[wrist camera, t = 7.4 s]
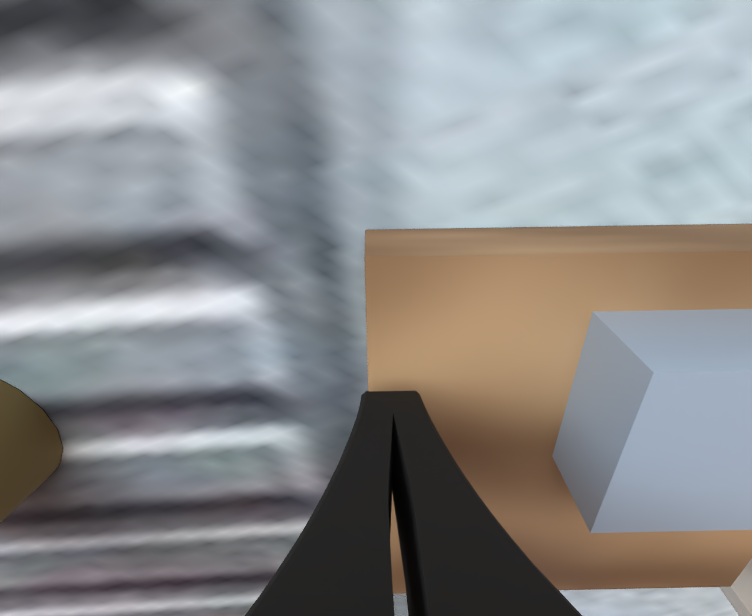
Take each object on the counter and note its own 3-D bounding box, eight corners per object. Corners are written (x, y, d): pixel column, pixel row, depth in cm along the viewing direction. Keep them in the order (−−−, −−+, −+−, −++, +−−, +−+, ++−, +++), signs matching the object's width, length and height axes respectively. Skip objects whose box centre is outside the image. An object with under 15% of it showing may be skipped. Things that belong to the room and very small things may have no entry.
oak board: (694, 536, 18) (730, 586, 16) (373, 543, 17) (373, 593, 16) (883, 222, 11) (982, 247, 9) (365, 230, 11) (364, 257, 9)
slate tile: (716, 453, 12) (788, 528, 10) (551, 455, 12) (590, 532, 10) (797, 308, 10) (913, 368, 8) (592, 311, 10) (653, 372, 8)
